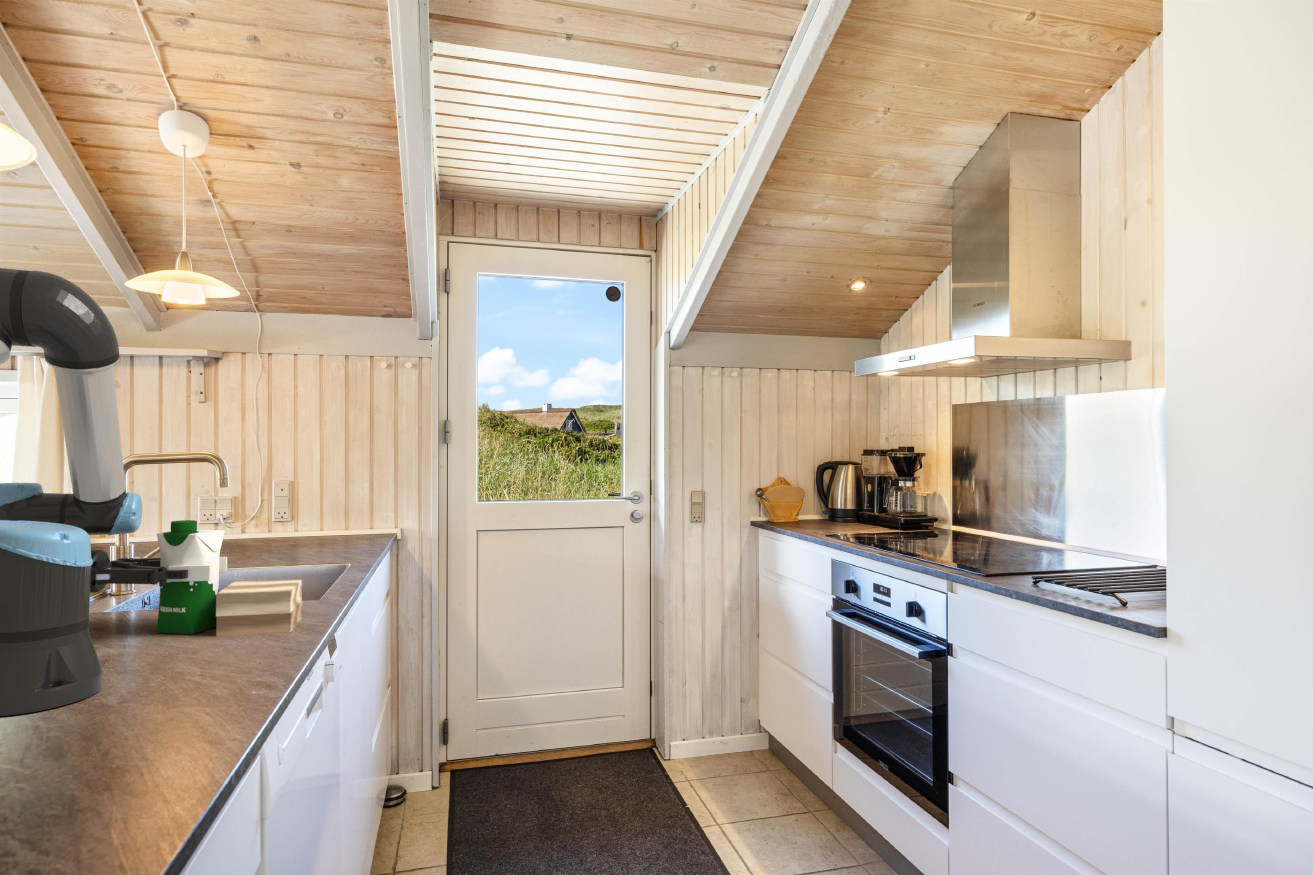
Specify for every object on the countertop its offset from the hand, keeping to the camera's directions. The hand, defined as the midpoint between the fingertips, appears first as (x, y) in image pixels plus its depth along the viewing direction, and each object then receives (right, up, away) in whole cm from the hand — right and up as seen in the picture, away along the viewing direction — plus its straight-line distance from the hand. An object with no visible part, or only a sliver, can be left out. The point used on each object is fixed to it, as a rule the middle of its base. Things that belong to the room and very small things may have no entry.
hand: (218, 568), depth 135 cm
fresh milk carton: (-5, -11, -1) cm, 12 cm away
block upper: (+7, -8, +2) cm, 11 cm away
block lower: (+7, -12, +2) cm, 14 cm away
